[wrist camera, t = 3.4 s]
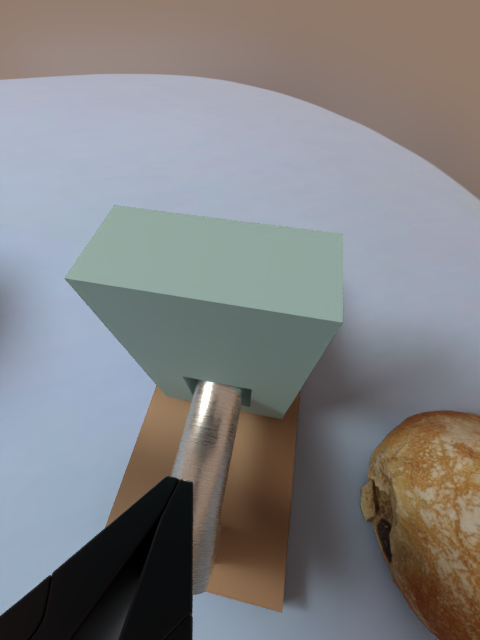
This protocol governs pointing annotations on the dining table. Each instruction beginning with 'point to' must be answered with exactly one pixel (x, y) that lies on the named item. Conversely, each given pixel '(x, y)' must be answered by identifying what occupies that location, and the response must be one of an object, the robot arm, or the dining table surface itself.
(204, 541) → the grey metal pipe
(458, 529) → the bread roll
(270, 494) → the walnut board
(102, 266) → the sage green slotted block
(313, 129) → the dining table surface
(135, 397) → the dining table surface
